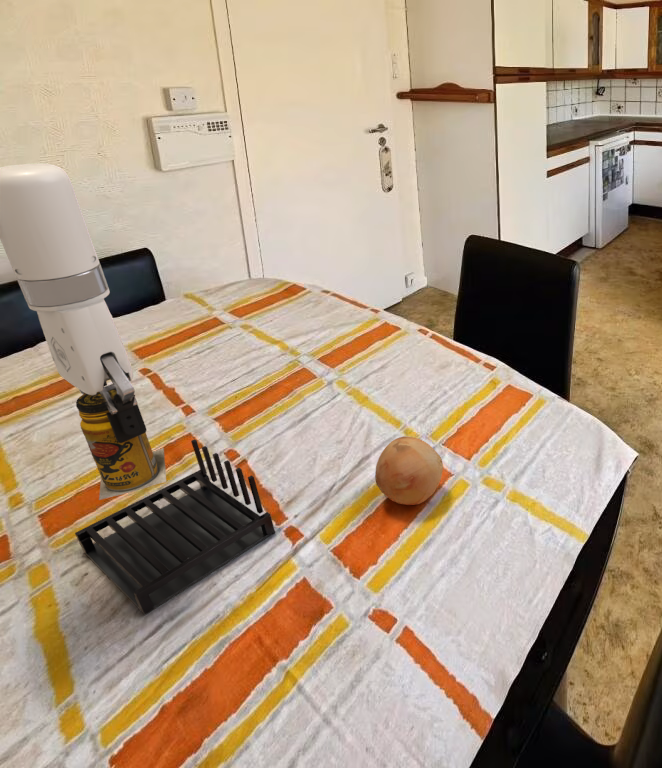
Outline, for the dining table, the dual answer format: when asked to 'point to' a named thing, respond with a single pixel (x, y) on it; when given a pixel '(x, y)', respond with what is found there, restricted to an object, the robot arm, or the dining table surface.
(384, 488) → the onion
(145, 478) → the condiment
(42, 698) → the dining table surface
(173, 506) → the dish rack
